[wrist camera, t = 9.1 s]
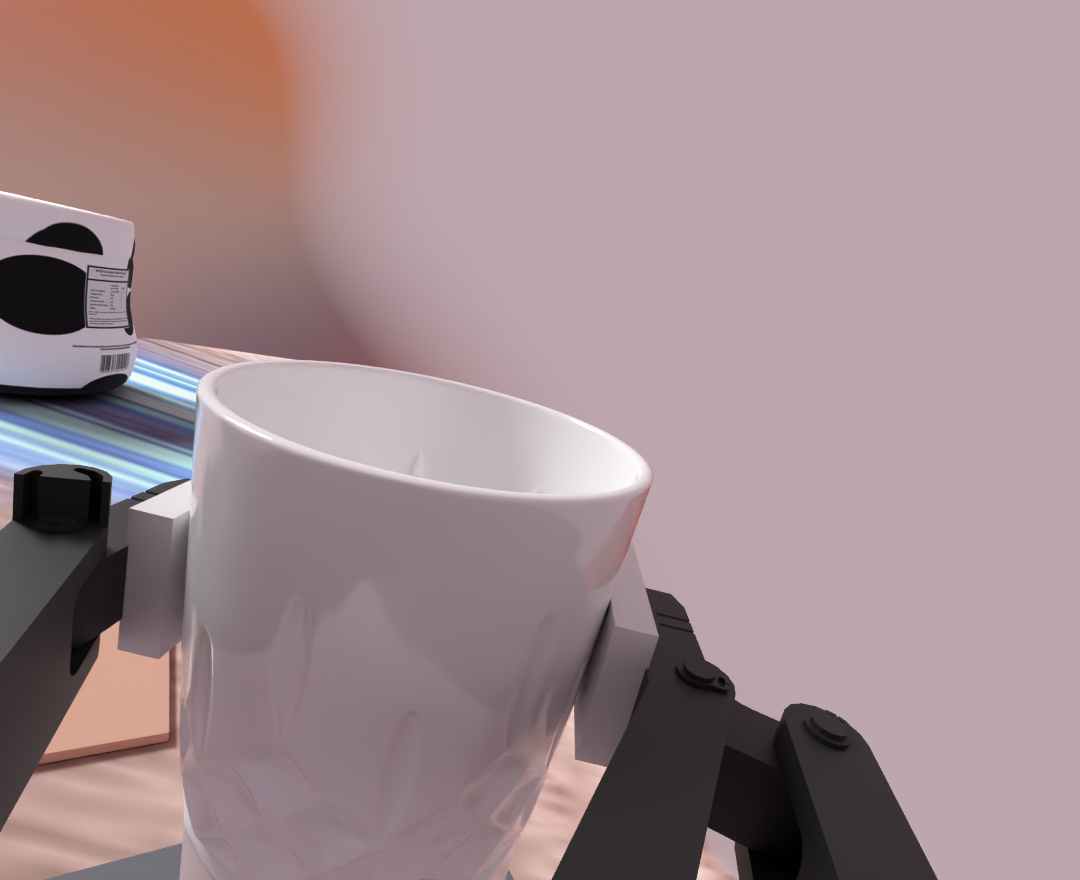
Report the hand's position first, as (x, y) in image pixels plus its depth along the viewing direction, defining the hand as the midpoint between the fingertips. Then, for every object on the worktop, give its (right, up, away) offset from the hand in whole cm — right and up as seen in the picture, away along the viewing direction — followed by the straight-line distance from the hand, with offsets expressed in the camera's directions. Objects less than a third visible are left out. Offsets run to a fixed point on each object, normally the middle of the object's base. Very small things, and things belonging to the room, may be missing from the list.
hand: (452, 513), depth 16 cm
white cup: (-2, -7, -3) cm, 8 cm away
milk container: (-49, +8, +43) cm, 66 cm away
